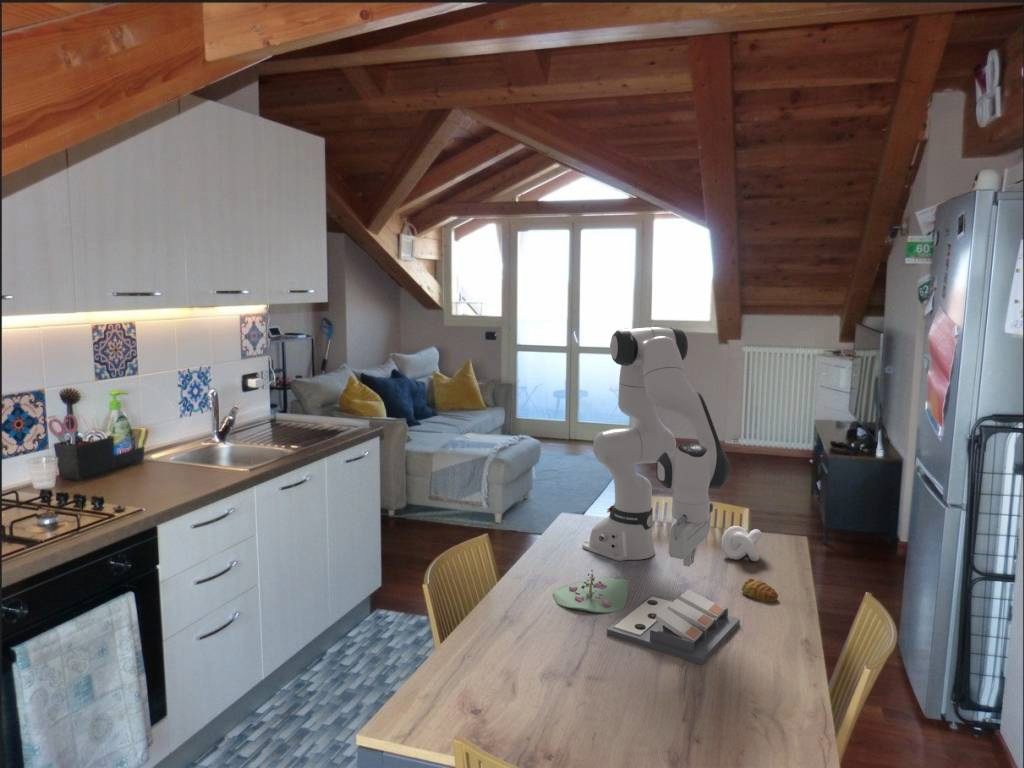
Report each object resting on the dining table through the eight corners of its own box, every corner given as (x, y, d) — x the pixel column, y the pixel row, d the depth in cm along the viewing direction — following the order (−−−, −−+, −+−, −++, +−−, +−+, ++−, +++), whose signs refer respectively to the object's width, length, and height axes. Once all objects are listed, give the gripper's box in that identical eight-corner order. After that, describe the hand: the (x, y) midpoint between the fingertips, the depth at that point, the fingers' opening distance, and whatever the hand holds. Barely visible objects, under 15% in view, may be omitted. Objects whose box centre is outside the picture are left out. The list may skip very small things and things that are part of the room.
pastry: (783, 599, 207) (784, 586, 207) (768, 606, 203) (769, 592, 203) (753, 587, 215) (754, 574, 214) (738, 594, 211) (739, 580, 210)
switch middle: (666, 610, 187) (668, 605, 187) (675, 602, 191) (677, 598, 191) (704, 631, 182) (706, 626, 182) (712, 623, 186) (714, 618, 186)
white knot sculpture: (771, 564, 230) (773, 535, 229) (733, 567, 228) (734, 538, 227) (754, 550, 241) (755, 523, 240) (717, 552, 240) (718, 525, 238)
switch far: (678, 600, 193) (680, 595, 193) (687, 593, 197) (688, 588, 197) (715, 620, 188) (717, 615, 187) (723, 612, 192) (725, 608, 191)
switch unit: (606, 634, 187) (607, 619, 186) (650, 599, 206) (651, 585, 206) (702, 665, 173) (702, 648, 172) (739, 624, 192) (740, 609, 192)
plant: (579, 572, 226) (579, 542, 224) (647, 587, 216) (648, 556, 214) (540, 605, 204) (540, 572, 203) (613, 623, 194) (614, 589, 193)
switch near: (654, 619, 182) (656, 614, 181) (663, 611, 186) (665, 607, 185) (692, 644, 177) (694, 640, 176) (700, 636, 181) (702, 631, 180)
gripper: (688, 524, 180) (686, 581, 182) (715, 502, 197) (713, 554, 199) (662, 519, 184) (661, 575, 186) (691, 498, 201) (689, 549, 203)
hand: (688, 564), depth 193 cm, fingers closed
